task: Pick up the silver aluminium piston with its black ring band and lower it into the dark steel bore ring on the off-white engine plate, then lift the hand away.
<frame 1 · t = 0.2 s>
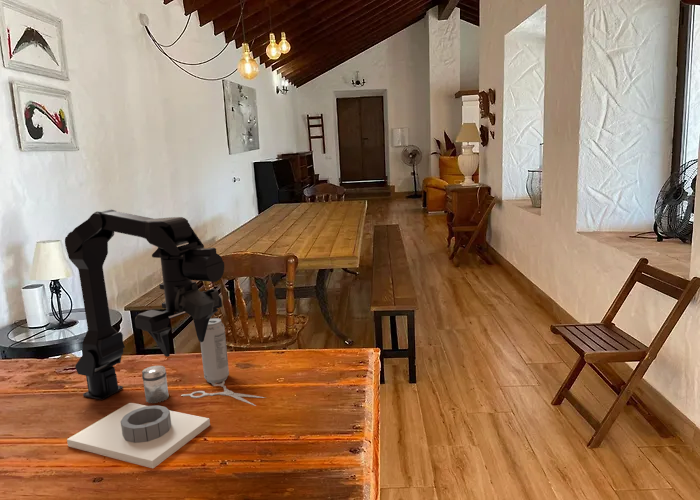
hand: (184, 348, 115), 14 cm above the table, tool pointing down, fingers open, 9 cm apart
engine plate: (140, 435, 108), on the table
piston: (157, 398, 124), on the table
energy drink can: (217, 379, 133), on the table
scissors: (229, 396, 124), on the table
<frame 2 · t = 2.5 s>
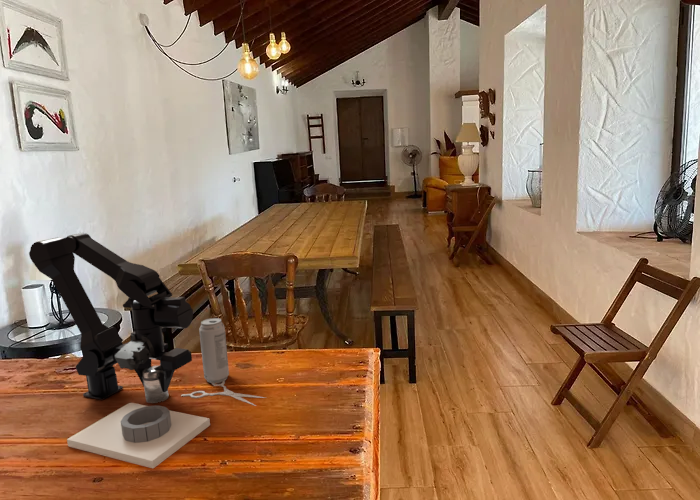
hand: (156, 389, 124), 2 cm above the table, tool pointing down, fingers closed on piston, 5 cm apart
piston: (157, 398, 124), on the table, touching gripper
everything else where it was.
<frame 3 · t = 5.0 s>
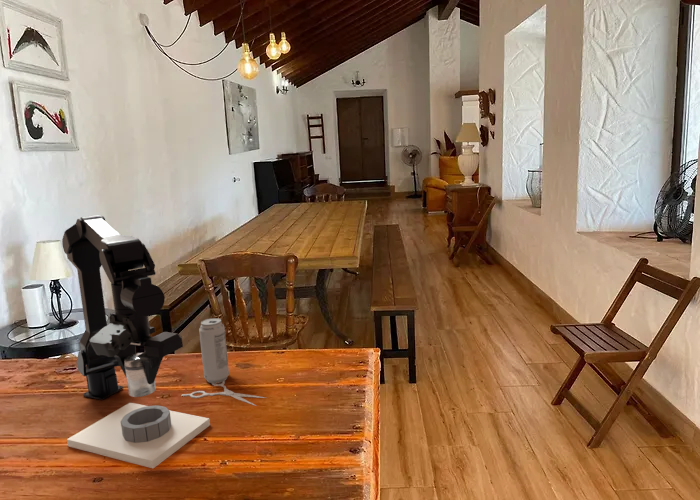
hand: (140, 381, 105), 12 cm above the table, tool pointing down, fingers closed on piston, 5 cm apart
piston: (142, 391, 105), point 10 cm above the table, touching gripper
everything else where it was.
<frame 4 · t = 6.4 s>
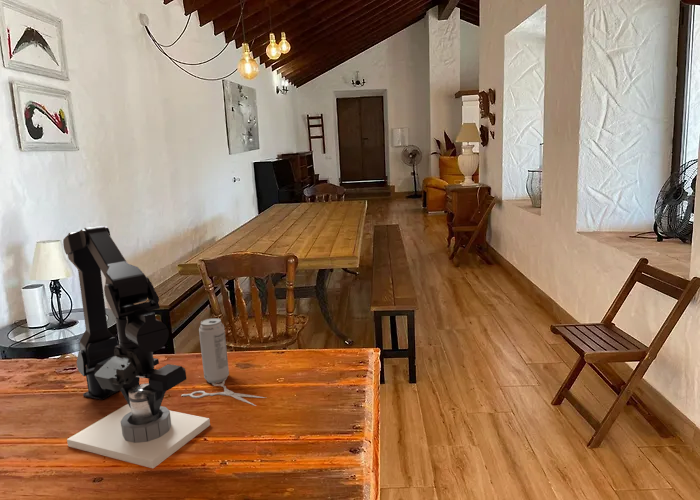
hand: (144, 412, 106), 5 cm above the table, tool pointing down, fingers closed on piston, 5 cm apart
piston: (146, 421, 106), point 3 cm above the table, touching gripper
everything else where it was.
when the fingers open (5 cm above the table, at t = 7.5 s): piston drops 1 cm, resting on engine plate.
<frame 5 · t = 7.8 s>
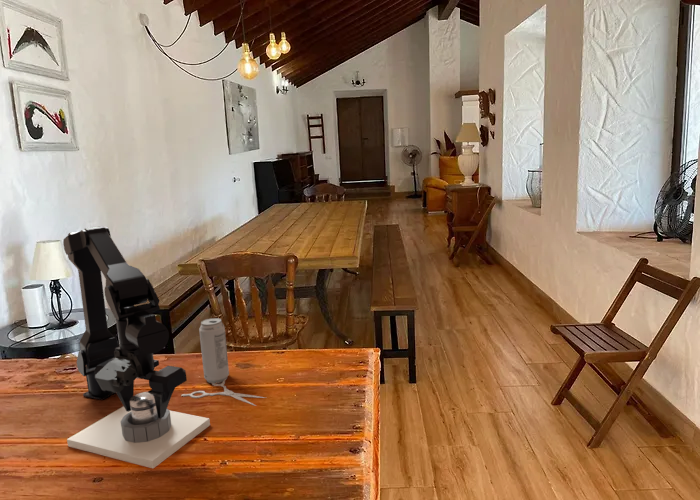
hand: (145, 414, 106), 5 cm above the table, tool pointing down, fingers open, 8 cm apart
piston: (147, 429, 107), point 2 cm above the table, touching engine plate
everything else where it was.
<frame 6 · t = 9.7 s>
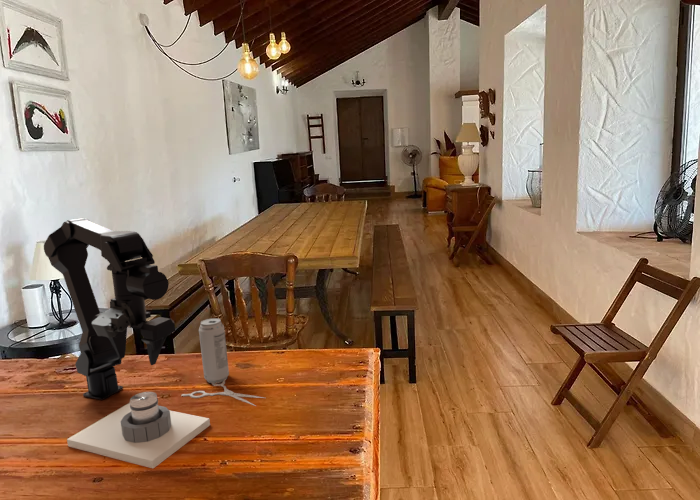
hand: (137, 361, 116), 12 cm above the table, tool pointing down, fingers open, 9 cm apart
nothing on the table moved.
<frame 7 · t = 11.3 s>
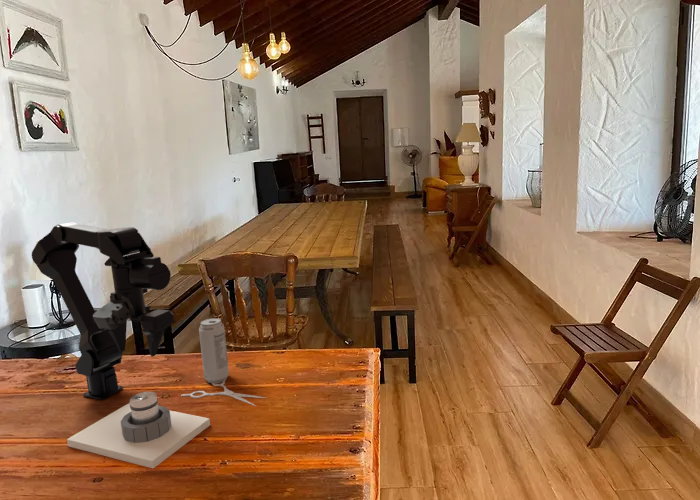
hand: (137, 353, 119), 12 cm above the table, tool pointing down, fingers open, 9 cm apart
nothing on the table moved.
at the end: piston 0.1 cm from the target spot on the engine plate, point 1.5 cm above the engine plate's base; piston tilted 0°; the gripper is holding nothing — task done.
